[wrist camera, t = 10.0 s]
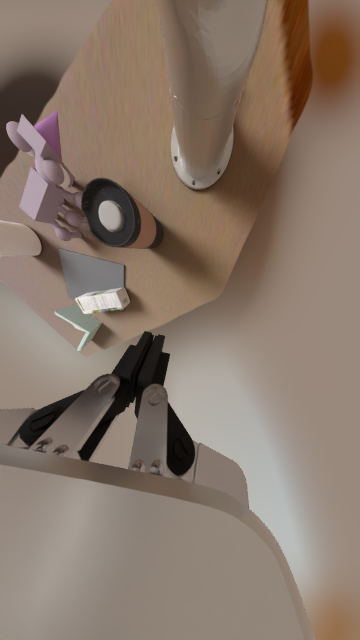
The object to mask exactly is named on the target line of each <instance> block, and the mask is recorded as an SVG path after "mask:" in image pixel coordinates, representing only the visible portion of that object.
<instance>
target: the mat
mask: <svg viewBox="0 0 360 640" xmlns="http://www.w3.org/2000/svg"><path fill="white" fill-rule="evenodd" d="M58 251H59V255H60V260H61V265H62V269H63V274H64V279H65V283H66V288H67V293H68V297H69V298H71V299H75V298H77V297H79V296H81V295H84V294H86V293H90V292H96V291H102V290H109V289H115V288H122V287H124V267H125V265H122V264H118V263H114V262H110V261H107V260H103V259H99V258H95V257H91V256H87V255H83V254H79V253H76V252H72V251H68V250H64V249H60V248H58ZM120 311H124V309H121V310H120Z"/></svg>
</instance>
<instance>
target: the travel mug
mask: <svg viewBox="0 0 360 640" xmlns="http://www.w3.org/2000/svg"><path fill="white" fill-rule="evenodd" d="M81 208H82V211H83V212H84V214H85V216H86V219H87V222H88V224H89V228H90V232H91V233H92V234H93V235H94V236H95V237H96V238H97V239H98V240H99V241H100V242H102V243H104V244H105V245H108V246H111V247H122V248H137V249H145V248H154V247H157V246H158V245H159V244H160V243H161V241H162V238H163V230H162V227H161V225H160V223H159V222H158V220H157V219H156V218H155V217H154V216H153V215H152V214H151V213H150V212H149V211H148V210H147V209H146V208H145V207H144V206H143V205H142V204H140V203H139V202H138V201H137V200H136V199H135V198H134V197H132V196H131V195H130V194H129V193H128V192H127V191H126V190H124V189H123V188H122V187H121V186H120V185H118V184H117V183H116V182H114V181H112V180H110V179H107V178H96V179H93V180H92V181H90V182H89V183H88V184H87V185H86V187H85V189H84V191H83V194H82V198H81Z"/></svg>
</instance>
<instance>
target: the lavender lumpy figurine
mask: <svg viewBox="0 0 360 640" xmlns="http://www.w3.org/2000/svg"><path fill="white" fill-rule="evenodd" d="M6 128H7V133H8V135H9V137H10V139H11V140H12V142H13V143H14V144H15V145H16V146H17V147H18V148H19V149H20V150H22V151H23V152H26V153H27V154H29V155H30V156H33V157H35V164H36V169H34V168H32V167H31V170H30V173H29V177H28V180H27V183H26V186H25V190H24V193H23V196H22V199H21V203H20V206H19V207H20V208H21V209H22V210H23V211H25V212H26V213H27V214H28V215H29V216H30V217H31V218H32V219H33V220H34V221H39V222H45V223H50V224H51V225H52V226H53V227H54V228H55V233H56V235H57V236H58V237H59V238H60V239H61V240H64V241H69V240H70V239H71V238H82V234H81V233H80V232H70V231H69V230H68V229H66V228H65V227H61V226H60V225H59V224H58V223H57V222H56V221H55V219H58V217H59V216H58V212H59V211H60V212H61V213H62V214H63V215H64V216H65V219H66V221H67V222H68V223H69V224H70V225H72V226H75V227H77V226H79V225H80V224H81V223H88V222H87V219H86V217H84V216H79V215H78V214H77V213H75V212H74V211H71V210H67V209H66V208H64V207H63V206H62V204H64V203H65V200H64V198H66V199H68V200H71V201H74V203H75V204H76V206H77V207H78V208H80V209H81V210H82V208H81V198H82V194H83V193H81V192H76V193H74V194H73V193H70V192H68V191H65V190H64V189H63V188H62V187H67V186H68V187H69V188H70V187H71V185H73V184H74V182H73V181H74V179H75V177H74V176H73V175H72V174H71V172H70V171H69V170H68V169H67V167H66V166H65V165H64V163H63V162H62V157H61V146H60V136H59V125H58V114H57V111H55V112H54V113H52V114H51V115H49V116H48V117H47V118H45V119H44V120H42V121H41V122H39V123H38V124H36V125H35V126H32V125H31V124H30V123H29V122H28V120H27V119H26V118H25V117H24V116H23V115H22V116H21V119H20V122H19V123H16V122H13V121H11V122H8V123H7V127H6Z"/></svg>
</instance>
